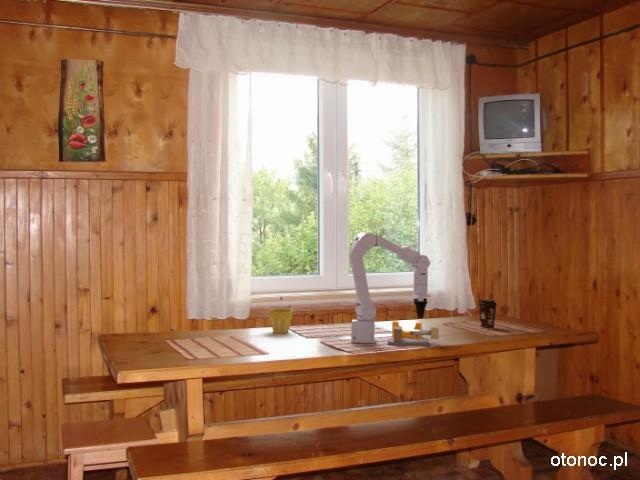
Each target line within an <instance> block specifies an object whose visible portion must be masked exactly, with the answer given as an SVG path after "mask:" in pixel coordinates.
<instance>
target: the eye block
mask: <svg viewBox="0 0 640 480" xmlns="http://www.w3.org/2000/svg"><path fill="white" fill-rule="evenodd" d="M402 327H403V326H400V325H399V326H394V337H393V338H387V342H386V343H387V346H412V345H413V347H414V346H417V347H418V346H419V347H420V346H421V347H423V346H425V347H429V345H430V343H429V339H428V338H427V339H423V338H403V337H402V330H403V328H402Z"/></svg>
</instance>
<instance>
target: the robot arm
mask: <svg viewBox="0 0 640 480" xmlns="http://www.w3.org/2000/svg"><path fill="white" fill-rule="evenodd" d="M352 241H353V242H352V245H351V247H350V250H349V253H348V254H349V259H350V266H351V271H352V276H353V282H354V287H355V292H356V300H355V303H356V305H355V309H354V310H355V313H356V315H357V317H356V319H352V320H351V329H350V330H351V332H350V340H351V341H350V342H351V343H357V344H358V343H360V344H361V343H362V344H364V343H365V344H375V343H376V342H377V341H376V340H377V339H376V338H375V329H376V328H375V326H376V325H375V324H376V323H375V317H376V315H377V309H376V307H375V305H374V303H373V300H372V297H371V296H370V291H369V286H368V285H369V284H368V279H367V274H366V269H365V268H366V267H365V264H364V258H363V257H364V256H365V255H366V254H367V253H368V251H369V250H371V249H373V247H381V248H383V249H385V250H387V251H390V252H392V253H394V254H396V256H397V258H398V259H399V260H401V261H403V262H405V263H407V264H409V265H412V267H413V294H412V297H414V298H413V304H414V306H415V310H416V315H417V319H424V316H425V312H426V311H425V310H426V307H427V304H428V303H429V302H428V297H431V294H428V289H429V288H428V284H429V283H428V279H429V278H428V276H429V275H428V274H429V272H428V268H429V267H430V266H431V261H430V259H429V257H428V256H427V255H425V254H421V252H420V251H415V250H413V249H412V248H411V246H409V245H403V246H399V245H397V244H396V243H394V242H392V241H390V240H388V239H387V238H385V237H383V236H380V235H378V234H374V233H373V232H364V231H362V232H359V233H357V235H355V237H354V238H353V240H352Z"/></svg>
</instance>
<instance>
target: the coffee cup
mask: <svg viewBox="0 0 640 480" xmlns="http://www.w3.org/2000/svg"><path fill="white" fill-rule="evenodd" d="M497 305H498V304H497V302H496V301H495V300H494V299H487V298H483V299H479V300H478V306H479V310H478V316H479V321H480V325H479V326H480V327H479V328H480V329H482V328H485V329H484V330H494V329H495V321H496V311H497ZM493 328H494V329H493Z"/></svg>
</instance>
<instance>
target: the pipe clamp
mask: <svg viewBox="0 0 640 480" xmlns="http://www.w3.org/2000/svg"><path fill="white" fill-rule="evenodd" d="M391 324H392V325H391V327H392V328H391V329H392V330H391V331H392V332H391V337H393V338H394V326H400V324H399V321H397V320H393V321H392V322H391ZM422 324H423V322H417V321H416V323H415V325H414V328H413V329H412V330H423V329H422V327H423V326H422ZM405 337H406V338H405ZM402 338H405V339H423V335H410V330H404V329H402Z"/></svg>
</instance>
